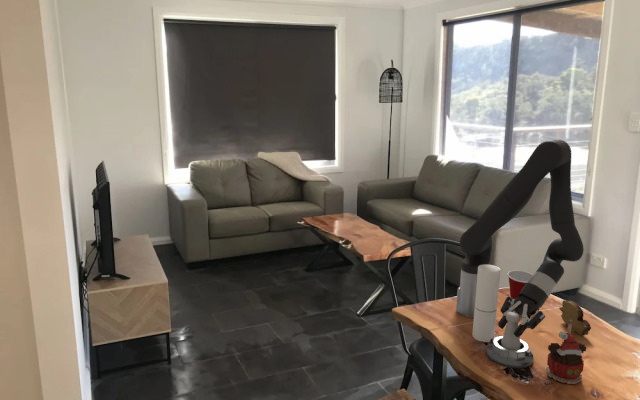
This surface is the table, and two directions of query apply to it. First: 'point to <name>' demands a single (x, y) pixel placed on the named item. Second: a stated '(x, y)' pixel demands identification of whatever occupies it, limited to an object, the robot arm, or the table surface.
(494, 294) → the cylindrical container
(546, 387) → the table surface
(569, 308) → the wooden carving
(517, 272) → the plastic cup
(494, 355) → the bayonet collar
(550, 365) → the cake
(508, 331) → the salt shaker
